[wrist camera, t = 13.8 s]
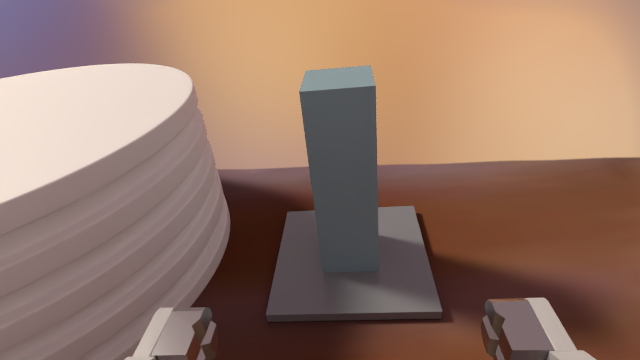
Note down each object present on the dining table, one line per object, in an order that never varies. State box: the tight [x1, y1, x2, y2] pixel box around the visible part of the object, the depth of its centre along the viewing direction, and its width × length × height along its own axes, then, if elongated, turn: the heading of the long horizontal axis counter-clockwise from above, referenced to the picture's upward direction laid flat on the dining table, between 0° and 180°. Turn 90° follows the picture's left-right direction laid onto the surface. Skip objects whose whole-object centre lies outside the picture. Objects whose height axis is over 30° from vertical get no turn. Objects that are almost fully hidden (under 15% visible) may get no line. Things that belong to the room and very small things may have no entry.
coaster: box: [266, 206, 443, 322], centre depth 25 cm, size 10×10×1 cm
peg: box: [299, 65, 379, 273], centre depth 22 cm, size 4×4×12 cm
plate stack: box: [0, 64, 230, 360], centre depth 26 cm, size 28×28×12 cm
